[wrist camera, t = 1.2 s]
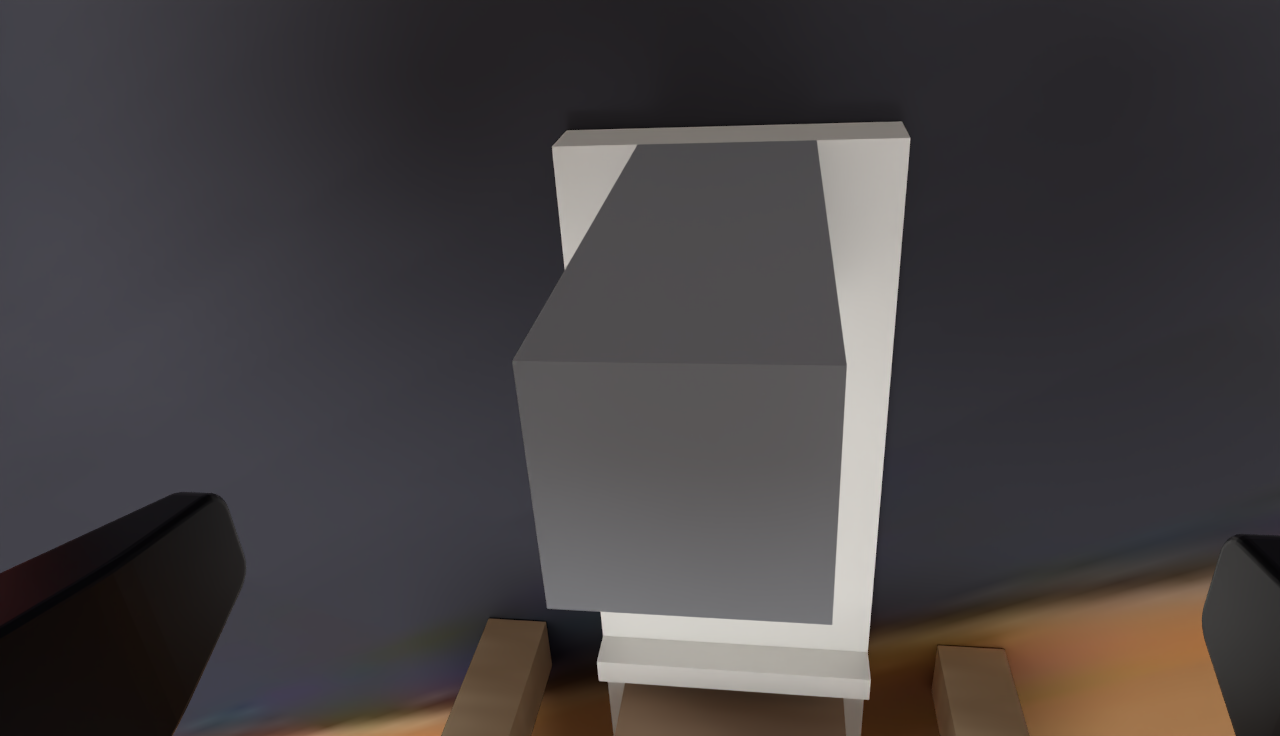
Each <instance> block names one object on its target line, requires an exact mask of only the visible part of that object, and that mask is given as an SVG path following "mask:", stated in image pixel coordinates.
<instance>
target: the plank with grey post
mask: <svg viewBox="0 0 1280 736" xmlns="http://www.w3.org/2000/svg"><path fill="white" fill-rule="evenodd" d="M909 150H910V136H909V134H908V132H907V130H906V128H905V126H904V124H903V123H902V121H897V122H860V123H823V124H785V125H748V126H711V127H673V128H636V129H599V130H566V132H565V133H564V134H563V135H562V136H561V137H560V138H559V139H558V140H557V141H556V143H555V144H554V145H553V146H552V153H553V163H554V172H555V182H556V191H557V201H558V210H559V220H560V229H561V239H562V249H563V258H564V268H565V271H564V272H563V274H562V276H561V278H560V279H559V281H558V283H557V284H556V286H555V288H554V290H553V291H552V293H551V295H550V297H549V298H548V300H547V302H546V304H545V305H544V307H543V309H542V310H541V312H540V314H539V316H538V317H537V319H536V321H535V323H534V324H533V326H532V328H531V329H530V331H529V333H528V335H527V336H526V338H525V340H524V342H523V343H522V345H521V347H520V348H519V350H518V352H517V354H516V355H515V357H514V359H513V361H512V363H513V370H514V377H515V385H516V392H517V399H518V406H519V413H520V420H521V427H522V434H523V441H524V448H525V455H526V462H527V469H528V476H529V483H530V491H531V498H532V505H533V512H534V519H535V526H536V533H537V540H538V547H539V554H540V561H541V568H542V575H543V582H544V590H545V597H546V604H547V609H562V610H579V611H597V612H601V621H602V630H603V638H602V642H601V646H600V651H599V655H598V659H597V669H598V678H599V681H605V682H608V688H609V697H610V707H611V716H612V726H613V735H614V736H615V731H616V726H617V721H618V716H619V711H620V706H621V701H622V696H623V691H624V686H625V683H633V684H648V685H662V686H676V687H691V688H705V689H719V690H734V691H748V692H762V693H777V694H791V695H806V696H820V697H834V698H843V701H844V714H845V728H846V736H861V727H862V715H863V703H864V700H869V695H870V684H871V677H870V668H869V659H868V643H869V631H870V619H871V607H872V595H873V583H874V571H875V559H876V547H877V535H878V523H879V511H880V499H881V487H882V475H883V463H884V451H885V439H886V427H887V415H888V403H889V391H890V379H891V367H892V355H893V342H894V330H895V318H896V306H897V294H898V282H899V270H900V258H901V246H902V234H903V222H904V210H905V198H906V186H907V174H908V162H909Z"/></svg>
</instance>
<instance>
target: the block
mask: <svg viewBox="0 0 1280 736" xmlns="http://www.w3.org/2000/svg"><path fill="white" fill-rule="evenodd" d="M615 736H846V728H845V714H844V701H843V698H834V697H820V696H806V695H791V694H777V693H762V692H748V691H734V690H719V689H705V688H691V687H676V686H662V685H648V684H633V683H625V686H624V691H623V696H622V701H621V706H620V711H619V716H618V721H617V726H616V731H615Z"/></svg>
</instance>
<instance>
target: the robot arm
mask: <svg viewBox="0 0 1280 736" xmlns="http://www.w3.org/2000/svg"><path fill="white" fill-rule="evenodd" d="M245 574H246V560H245V556H244V553H243V550H242V547H241V544H240V541H239V538H238V535H237V532H236V529H235V526H234V524H233V521H232V518H231V515H230V512H229V509H228V506H227V504H226V502H225V501H224V500H223V499H222V498H221V497H220V496H218V495H216V494H213V493H196V492H179V493H174V494H172V495H169V496H167V497H165V498H163V499H160V500H158V501H156V502H154V503H152V504H150V505H147V506H145V507H143V508H141V509H139V510H137V511H134V512H132V513H130V514H128V515H126V516H124V517H121V518H119V519H117V520H115V521H113V522H111V523H108V524H106V525H104V526H102V527H100V528H98V529H95V530H93V531H91V532H89V533H87V534H85V535H82V536H80V537H78V538H76V539H74V540H72V541H69V542H67V543H65V544H63V545H61V546H59V547H56V548H54V549H52V550H50V551H48V552H46V553H43V554H41V555H39V556H37V557H35V558H33V559H30V560H28V561H26V562H24V563H22V564H20V565H17V566H15V567H13V568H11V569H9V570H6V571H4V572H2V573H0V736H172V735H173V734H174V732H175V730H176V728H177V726H178V724H179V722H180V720H181V718H182V716H183V714H184V712H185V710H186V708H187V706H188V704H189V702H190V700H191V698H192V696H193V693H194V691H195V689H196V687H197V685H198V682H199V680H200V678H201V676H202V674H203V671H204V669H205V667H206V665H207V663H208V660H209V658H210V656H211V654H212V652H213V649H214V647H215V645H216V643H217V641H218V639H219V636H220V634H221V632H222V630H223V628H224V625H225V623H226V621H227V619H228V617H229V614H230V612H231V610H232V608H233V606H234V603H235V601H236V599H237V597H238V595H239V592H240V590H241V588H242V586H243V583H244V579H245ZM1202 628H1203V635H1204V639H1205V642H1206V646H1207V649H1208V652H1209V655H1210V658H1211V661H1212V664H1213V667H1214V670H1215V673H1216V676H1217V679H1218V682H1219V685H1220V689H1221V692H1222V695H1223V698H1224V701H1225V704H1226V707H1227V710H1228V713H1229V716H1230V719H1231V722H1232V725H1233V728H1234V732H1235V735H1236V736H1280V536H1276V535H1250V534H1237V535H1235V536H1232V537H1230V538H1229V539H1228V540H1227V541H1226V542H1225V544H1224V545H1223V548H1222V550H1221V553H1220V556H1219V559H1218V562H1217V565H1216V569H1215V572H1214V575H1213V578H1212V582H1211V585H1210V588H1209V591H1208V595H1207V598H1206V601H1205V604H1204V608H1203V614H1202Z"/></svg>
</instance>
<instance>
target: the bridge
mask: <svg viewBox="0 0 1280 736" xmlns="http://www.w3.org/2000/svg"><path fill="white" fill-rule="evenodd" d="M551 668H552V660H551V653H550V646H549V639H548V632H547V625H546V622H539V621H523V620H506V619H488V622H487V624H486V626H485V629H484V631H483V634H482V636H481V639H480V641H479V644H478V646H477V649H476V651H475V654H474V656H473V659H472V661H471V663H470V666H469V668H468V671H467V673H466V676H465V678H464V681H463V683H462V686H461V688H460V691H459V693H458V696H457V698H456V700H455V703H454V705H453V708H452V710H451V713H450V715H449V718H448V720H447V723H446V725H445V728H444V730H443V732H442V735H441V736H531V734H532V731H533V728H534V724H535V721H536V718H537V714H538V711H539V708H540V704H541V701H542V698H543V694H544V691H545V688H546V684H547V681H548V678H549V674H550V671H551ZM932 696H933V701H934V707H935V712H936V718H937V723H938V728H939V734H940V736H1030V735H1029V732H1028V729H1027V725H1026V722H1025V718H1024V715H1023V711H1022V708H1021V705H1020V701H1019V698H1018V694H1017V691H1016V688H1015V684H1014V681H1013V677H1012V674H1011V670H1010V667H1009V664H1008V660H1007V657H1006V653H1005V650H1004V649H990V648H974V647H957V646H940V645H938V646H937V653H936V661H935V668H934V676H933V683H932Z"/></svg>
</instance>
